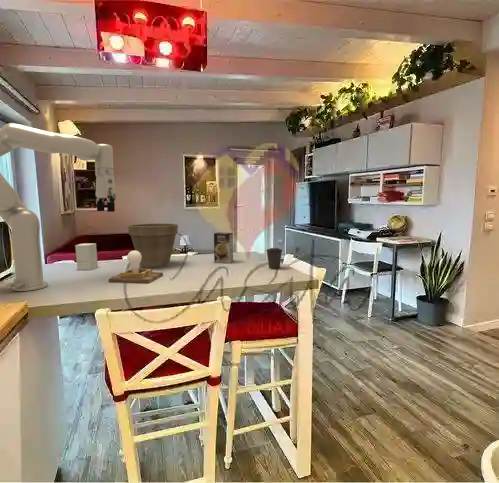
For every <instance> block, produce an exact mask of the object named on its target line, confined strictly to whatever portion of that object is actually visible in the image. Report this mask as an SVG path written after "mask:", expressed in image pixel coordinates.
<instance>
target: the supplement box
mask: <svg viewBox="0 0 499 483" xmlns="http://www.w3.org/2000/svg"><path fill="white" fill-rule="evenodd" d="M74 247H75V256H76V259H75V260H76V268H77V269H76V270H78V271H92V270H95V269H97V268H98V252H97V243H95V242H94V243H91V242H90V243H88V242H87V243H79V244H75V245H74Z"/></svg>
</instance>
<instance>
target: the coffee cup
mask: <svg viewBox="0 0 499 483" xmlns="http://www.w3.org/2000/svg"><path fill="white" fill-rule="evenodd" d="M266 252H267V253H266V254H267V255H266V256H267V263H268V269H269V268H271V269H270V270H280V268H281V261H282V260H281V259H282V252H283V249H281V248H278V247H271V248H268V249H266Z"/></svg>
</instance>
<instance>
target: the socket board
mask: <svg viewBox="0 0 499 483" xmlns="http://www.w3.org/2000/svg"><path fill="white" fill-rule="evenodd" d="M163 276H164V274H163V271H162V272H161V271H159V272H158V271H157V272H156V271H155V272H154V271H153V268H139V273H133V271H132V268H129V269H126V270H124V271H121V272H120V273H119V274H117V275H115V276H112V277H109V278H108V283H117V284H119V283H120V284H121V283H123V284H150V283H153V282H155V280H157V279H159V278H161V277H163Z"/></svg>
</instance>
